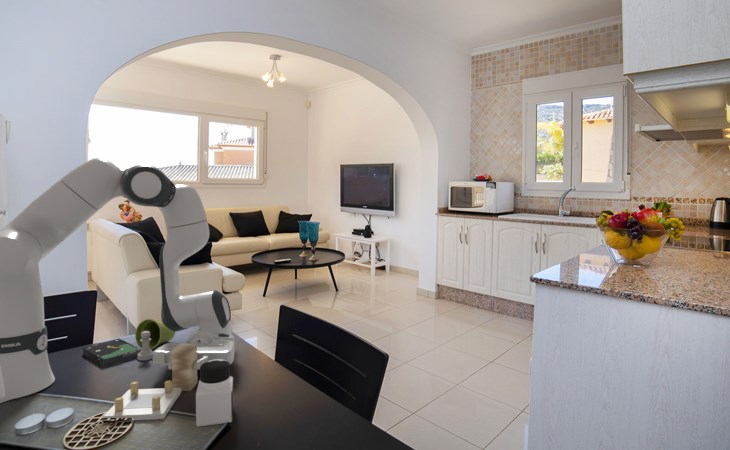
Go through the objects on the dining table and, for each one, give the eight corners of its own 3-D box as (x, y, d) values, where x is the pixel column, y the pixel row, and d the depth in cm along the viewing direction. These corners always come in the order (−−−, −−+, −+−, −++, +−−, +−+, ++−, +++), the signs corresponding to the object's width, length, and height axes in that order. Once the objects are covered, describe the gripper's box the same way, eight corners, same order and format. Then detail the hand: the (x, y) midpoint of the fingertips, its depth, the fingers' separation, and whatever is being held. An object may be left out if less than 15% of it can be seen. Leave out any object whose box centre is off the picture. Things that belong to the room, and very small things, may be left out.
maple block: (172, 390, 101) (171, 350, 100) (179, 382, 105) (179, 344, 105) (190, 390, 101) (190, 351, 100) (197, 382, 105) (196, 344, 105)
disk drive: (82, 356, 123) (103, 368, 114) (81, 347, 122) (103, 359, 114) (119, 346, 131) (142, 357, 122) (119, 337, 131) (141, 348, 122)
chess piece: (154, 353, 124) (154, 327, 123) (155, 359, 120) (154, 332, 119) (136, 356, 122) (136, 329, 121) (136, 362, 118) (136, 334, 117)
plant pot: (174, 350, 134) (154, 354, 125) (151, 340, 136) (130, 343, 128) (183, 322, 134) (165, 325, 126) (161, 312, 137) (141, 314, 128)
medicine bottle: (232, 422, 87) (232, 367, 86) (196, 427, 85) (195, 371, 84) (233, 406, 94) (232, 354, 93) (199, 410, 92) (198, 357, 91)
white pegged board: (103, 421, 87) (102, 404, 87) (128, 394, 99) (128, 379, 98) (163, 418, 88) (163, 402, 88) (181, 392, 100) (181, 377, 100)
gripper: (165, 334, 115) (140, 353, 101) (239, 335, 116) (224, 354, 102) (165, 357, 115) (140, 378, 102) (239, 357, 116) (224, 379, 102)
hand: (183, 366), depth 102 cm, fingers closed on maple block, 4 cm apart
